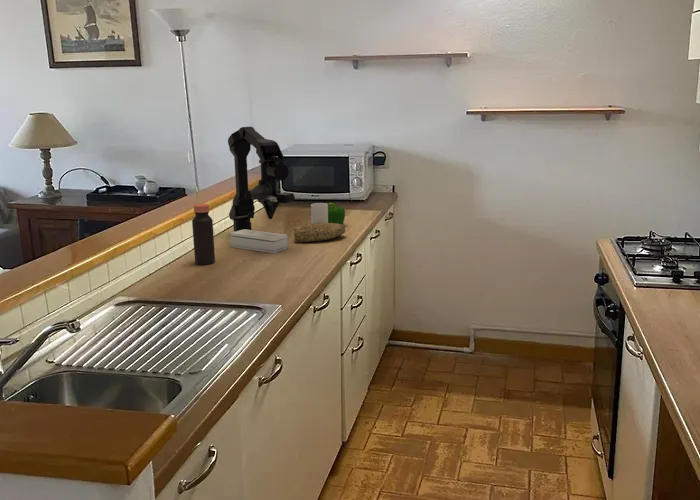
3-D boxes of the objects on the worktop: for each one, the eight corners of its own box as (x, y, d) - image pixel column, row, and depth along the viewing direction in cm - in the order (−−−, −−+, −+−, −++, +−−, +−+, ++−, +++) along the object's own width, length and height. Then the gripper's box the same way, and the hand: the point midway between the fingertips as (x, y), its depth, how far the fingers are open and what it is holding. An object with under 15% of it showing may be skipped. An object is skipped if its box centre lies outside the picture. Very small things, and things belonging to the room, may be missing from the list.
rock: (297, 248, 262) (348, 235, 262) (291, 228, 261) (343, 215, 262) (297, 246, 275) (346, 234, 276) (292, 226, 274) (341, 214, 275)
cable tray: (231, 246, 259) (230, 236, 258) (244, 242, 266) (244, 232, 265) (274, 253, 250) (274, 242, 248) (287, 248, 256) (287, 237, 255)
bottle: (208, 258, 244) (204, 202, 239) (219, 262, 239) (215, 204, 234) (191, 262, 239) (187, 205, 234) (202, 266, 234) (198, 207, 229)
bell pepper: (346, 224, 295) (345, 200, 292) (344, 228, 287) (343, 204, 285) (326, 223, 296) (326, 200, 293) (324, 228, 288) (323, 204, 285)
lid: (230, 235, 258) (230, 232, 258) (244, 231, 265) (244, 229, 265) (274, 241, 248) (274, 238, 248) (287, 237, 255) (287, 234, 255)
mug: (325, 236, 273) (324, 206, 270) (309, 235, 275) (308, 205, 272) (332, 230, 283) (332, 201, 280) (317, 230, 284) (316, 201, 281)
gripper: (234, 177, 249) (236, 220, 253) (276, 182, 240) (277, 226, 244) (253, 173, 258) (255, 214, 263) (295, 177, 249) (296, 220, 253)
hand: (270, 218), depth 255 cm, fingers closed
